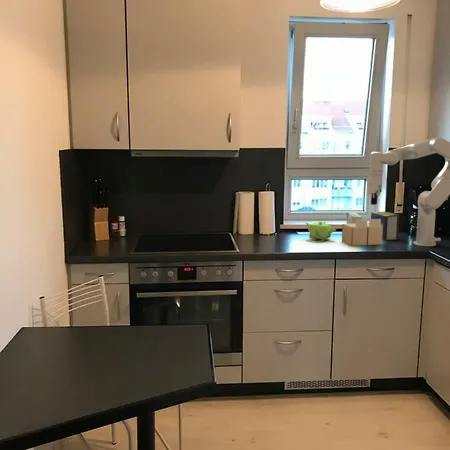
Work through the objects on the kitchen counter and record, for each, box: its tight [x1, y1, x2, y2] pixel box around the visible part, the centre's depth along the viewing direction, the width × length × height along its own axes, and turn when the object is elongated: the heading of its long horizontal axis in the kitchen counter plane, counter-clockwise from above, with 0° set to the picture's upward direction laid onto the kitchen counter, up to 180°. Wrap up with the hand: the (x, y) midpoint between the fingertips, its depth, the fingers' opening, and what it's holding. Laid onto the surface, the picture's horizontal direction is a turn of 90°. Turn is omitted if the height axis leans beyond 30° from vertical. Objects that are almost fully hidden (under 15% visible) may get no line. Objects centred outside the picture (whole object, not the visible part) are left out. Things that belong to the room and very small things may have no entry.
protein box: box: [370, 211, 400, 241], centre depth 333 cm, size 10×15×16 cm
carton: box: [341, 222, 383, 247], centre depth 316 cm, size 20×12×11 cm, turn 103°
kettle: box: [305, 221, 337, 242], centre depth 326 cm, size 15×14×11 cm
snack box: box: [346, 211, 363, 224], centre depth 332 cm, size 21×6×15 cm, turn 179°
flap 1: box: [351, 219, 368, 247], centre depth 308 cm, size 9×1×15 cm, turn 103°
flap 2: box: [367, 218, 383, 246], centre depth 310 cm, size 9×1×15 cm, turn 103°
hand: (373, 204), depth 312 cm, fingers closed
